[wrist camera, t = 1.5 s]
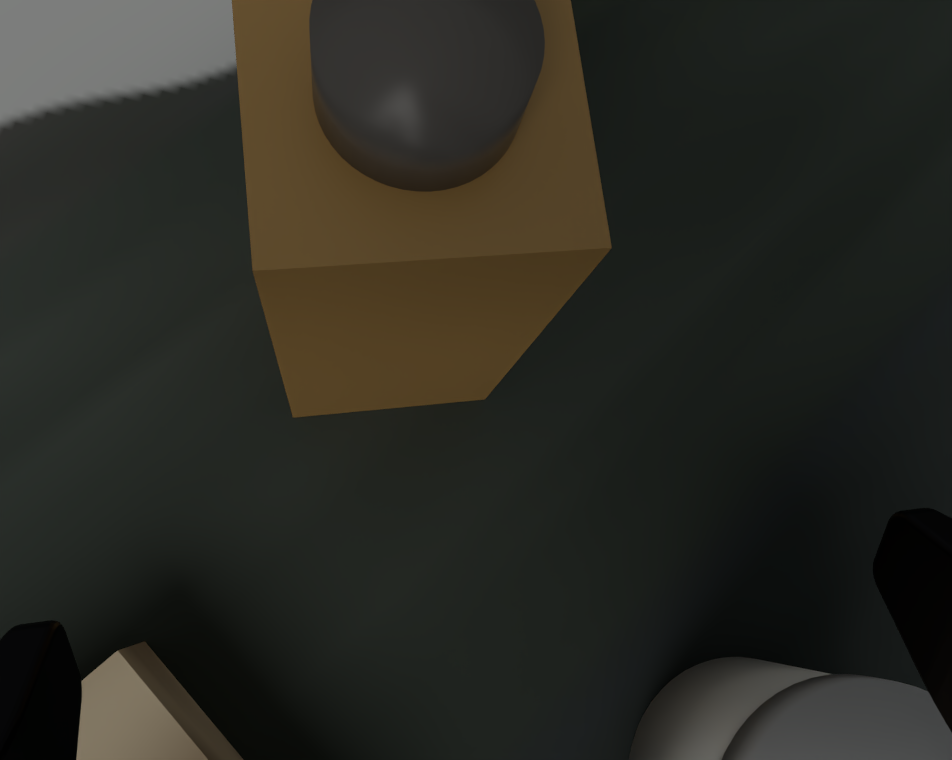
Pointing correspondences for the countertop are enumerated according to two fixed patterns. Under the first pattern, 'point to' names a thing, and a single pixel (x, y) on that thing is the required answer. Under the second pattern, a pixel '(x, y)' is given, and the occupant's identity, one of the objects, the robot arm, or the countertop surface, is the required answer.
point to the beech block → (144, 714)
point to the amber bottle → (413, 191)
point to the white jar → (788, 716)
